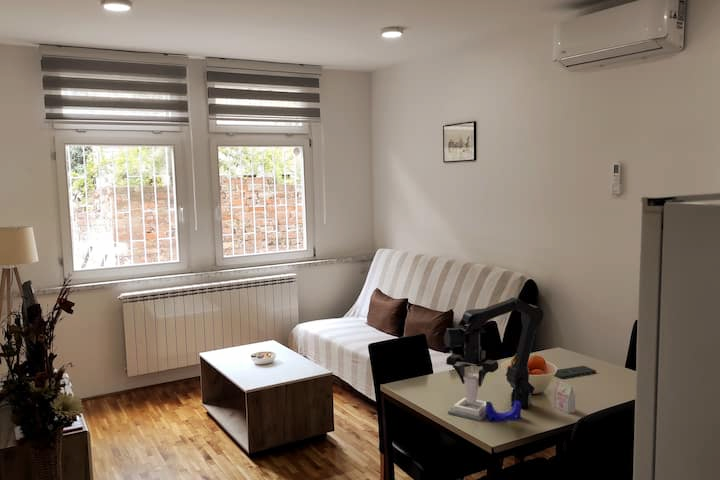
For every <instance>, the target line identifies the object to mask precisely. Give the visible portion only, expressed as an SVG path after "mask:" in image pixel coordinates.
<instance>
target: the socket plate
mask: <svg viewBox="0 0 720 480" xmlns="http://www.w3.org/2000/svg"><path fill="white" fill-rule="evenodd" d="M486 402H487V401H484V400H480V399H477V400H476V403H468V402H467V401H466V396H465V397H463V398H461V400H459V401H457V402H456V403H455V404H453V407H451V408H450V409H449V410H448V411H447V414H448V415H451V416H456V417H459V418H464V419H468V420H474V421H478V422H482V421H483V420H484V419H486ZM493 409H494V410H495V407H494V406H493Z"/></svg>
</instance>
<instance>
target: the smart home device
mask: <svg viewBox="0 0 720 480" xmlns="http://www.w3.org/2000/svg"><path fill="white" fill-rule="evenodd" d="M556 370H557V372H556V374H555V376H554V377H555V378H557V379H560V380H564V379H570V377H571V378H575V376H577V377H581V376H580V375H583V376H586V375H585V374H589V375H592V374H591V373H594V374H596V372H597V370H596V369H593V368H591V367H588V366H585V365H580V366H579V365H578V366H573V367H568V368H560V369H556Z"/></svg>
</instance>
